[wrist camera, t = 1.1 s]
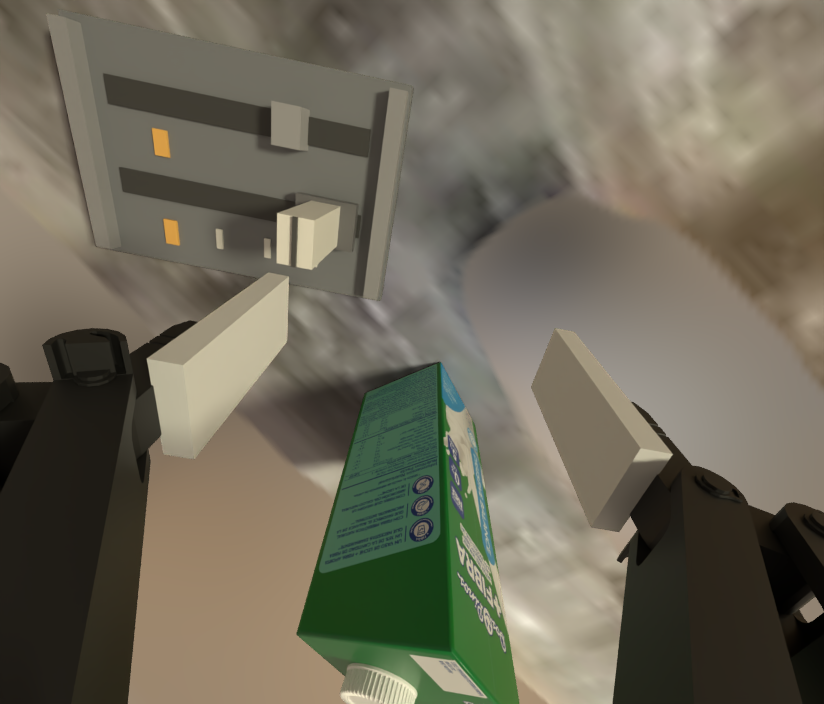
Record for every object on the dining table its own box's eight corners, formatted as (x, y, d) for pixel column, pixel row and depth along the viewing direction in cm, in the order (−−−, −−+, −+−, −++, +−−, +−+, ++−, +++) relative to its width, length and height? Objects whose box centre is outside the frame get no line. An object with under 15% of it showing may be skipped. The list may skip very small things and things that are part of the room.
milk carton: (363, 393, 40) (278, 690, 18) (440, 361, 37) (453, 656, 15) (403, 451, 43) (373, 760, 21) (475, 425, 41) (526, 740, 19)
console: (76, 16, 26) (28, -3, 23) (413, 89, 27) (411, 80, 24) (118, 245, 33) (87, 254, 30) (382, 295, 34) (377, 309, 31)
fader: (299, 191, 29) (255, 204, 21) (358, 203, 29) (334, 219, 22) (298, 238, 30) (255, 264, 23) (353, 249, 31) (329, 279, 23)
